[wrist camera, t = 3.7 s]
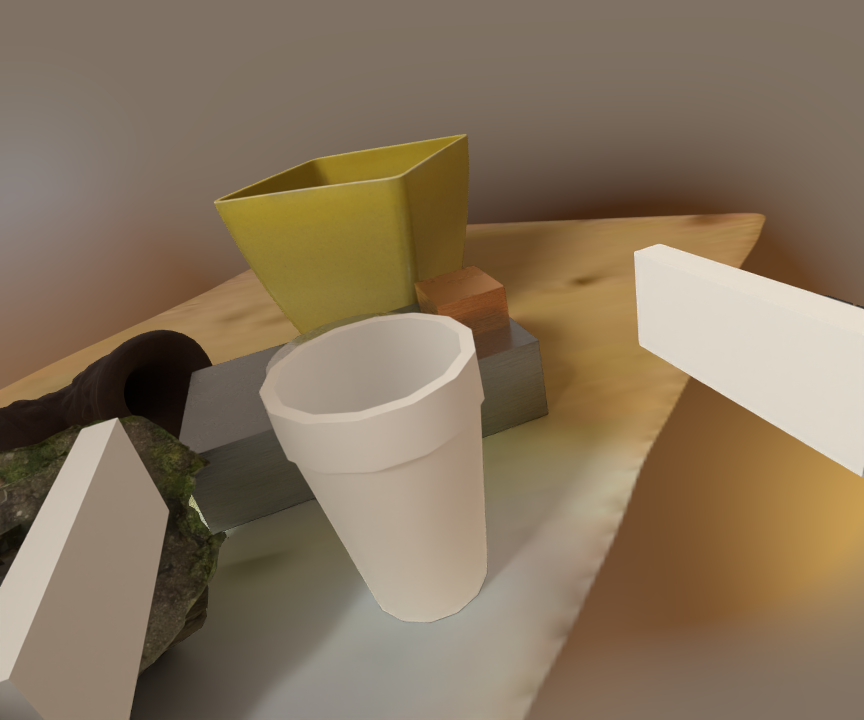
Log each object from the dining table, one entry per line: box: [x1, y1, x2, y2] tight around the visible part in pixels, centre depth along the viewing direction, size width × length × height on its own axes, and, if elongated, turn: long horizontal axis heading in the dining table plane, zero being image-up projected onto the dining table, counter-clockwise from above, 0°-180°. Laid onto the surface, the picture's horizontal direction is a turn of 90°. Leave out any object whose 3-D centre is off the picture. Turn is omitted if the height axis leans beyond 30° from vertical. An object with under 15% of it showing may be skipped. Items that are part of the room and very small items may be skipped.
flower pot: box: [214, 134, 469, 334], centre depth 58 cm, size 19×19×17 cm
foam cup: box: [259, 313, 488, 622], centre depth 28 cm, size 10×9×13 cm
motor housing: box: [179, 265, 548, 534], centre depth 42 cm, size 24×13×9 cm, turn 107°
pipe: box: [0, 330, 213, 451], centre depth 49 cm, size 10×15×15 cm
